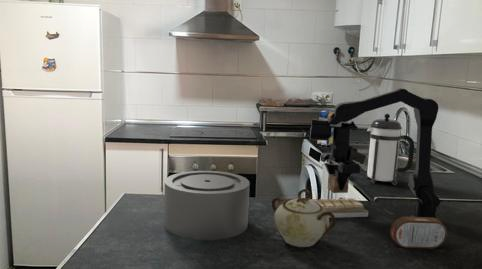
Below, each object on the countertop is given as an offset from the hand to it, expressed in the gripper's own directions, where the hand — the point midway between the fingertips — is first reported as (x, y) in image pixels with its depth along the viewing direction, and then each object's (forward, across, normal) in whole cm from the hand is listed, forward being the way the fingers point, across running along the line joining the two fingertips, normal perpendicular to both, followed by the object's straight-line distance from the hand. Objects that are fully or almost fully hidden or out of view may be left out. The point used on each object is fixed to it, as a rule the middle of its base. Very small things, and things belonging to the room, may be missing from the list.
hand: (337, 187), depth 140 cm
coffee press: (+9, +37, -39) cm, 55 cm away
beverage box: (+9, +121, -48) cm, 130 cm away
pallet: (+7, 0, 0) cm, 7 cm away
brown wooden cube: (+1, 0, 0) cm, 1 cm away
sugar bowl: (+9, -22, +20) cm, 31 cm away
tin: (+9, -28, -12) cm, 32 cm away
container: (+9, -6, +44) cm, 46 cm away
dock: (+9, 0, 0) cm, 9 cm away
